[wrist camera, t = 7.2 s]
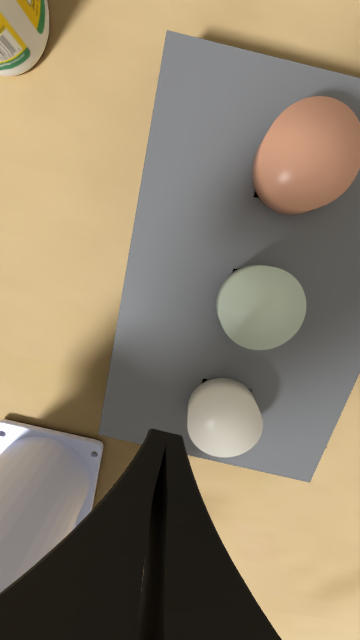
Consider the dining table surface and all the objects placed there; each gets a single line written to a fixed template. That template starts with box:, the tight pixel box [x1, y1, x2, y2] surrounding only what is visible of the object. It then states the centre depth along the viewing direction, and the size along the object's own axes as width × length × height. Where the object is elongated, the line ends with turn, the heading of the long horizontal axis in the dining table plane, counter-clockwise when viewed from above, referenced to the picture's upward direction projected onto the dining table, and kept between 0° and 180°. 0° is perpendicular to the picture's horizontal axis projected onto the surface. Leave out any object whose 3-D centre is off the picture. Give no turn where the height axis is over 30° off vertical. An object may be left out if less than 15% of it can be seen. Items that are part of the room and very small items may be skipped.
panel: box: [98, 30, 360, 482], centre depth 15 cm, size 21×14×2 cm, turn 167°
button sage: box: [216, 265, 306, 350], centre depth 14 cm, size 4×4×4 cm
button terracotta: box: [252, 96, 360, 215], centre depth 12 cm, size 4×4×4 cm
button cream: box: [187, 378, 263, 458], centre depth 15 cm, size 4×4×4 cm
